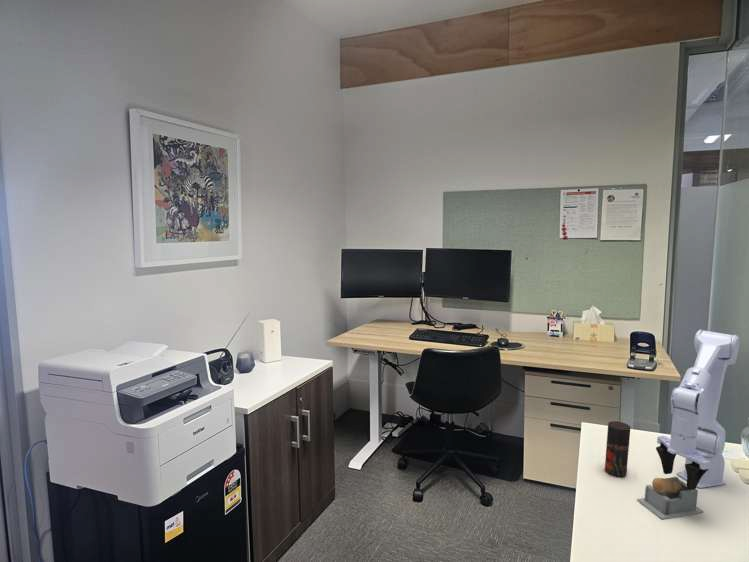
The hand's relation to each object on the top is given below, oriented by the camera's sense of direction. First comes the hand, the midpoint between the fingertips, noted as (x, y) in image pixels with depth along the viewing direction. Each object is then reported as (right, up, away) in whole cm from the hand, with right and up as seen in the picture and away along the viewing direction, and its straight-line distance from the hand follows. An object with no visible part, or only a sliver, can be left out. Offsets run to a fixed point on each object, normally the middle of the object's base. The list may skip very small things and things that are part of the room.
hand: (679, 480), depth 129 cm
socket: (-2, -7, 0) cm, 7 cm away
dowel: (-1, -2, 0) cm, 2 cm away
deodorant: (-8, -5, +17) cm, 20 cm away
